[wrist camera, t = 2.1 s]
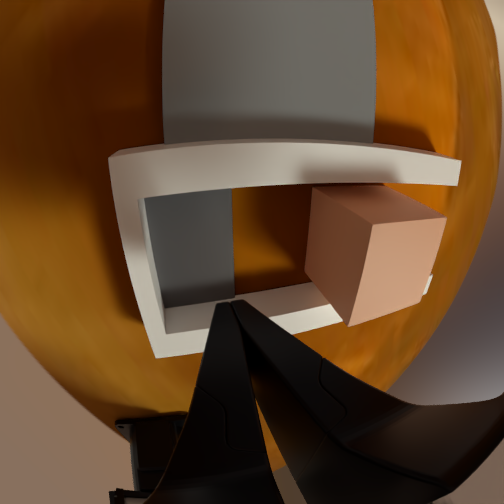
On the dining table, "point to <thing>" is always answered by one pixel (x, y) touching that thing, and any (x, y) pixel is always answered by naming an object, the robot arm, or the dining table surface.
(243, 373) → the robot arm
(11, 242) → the dining table surface
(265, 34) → the coaster
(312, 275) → the block
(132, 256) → the channel
